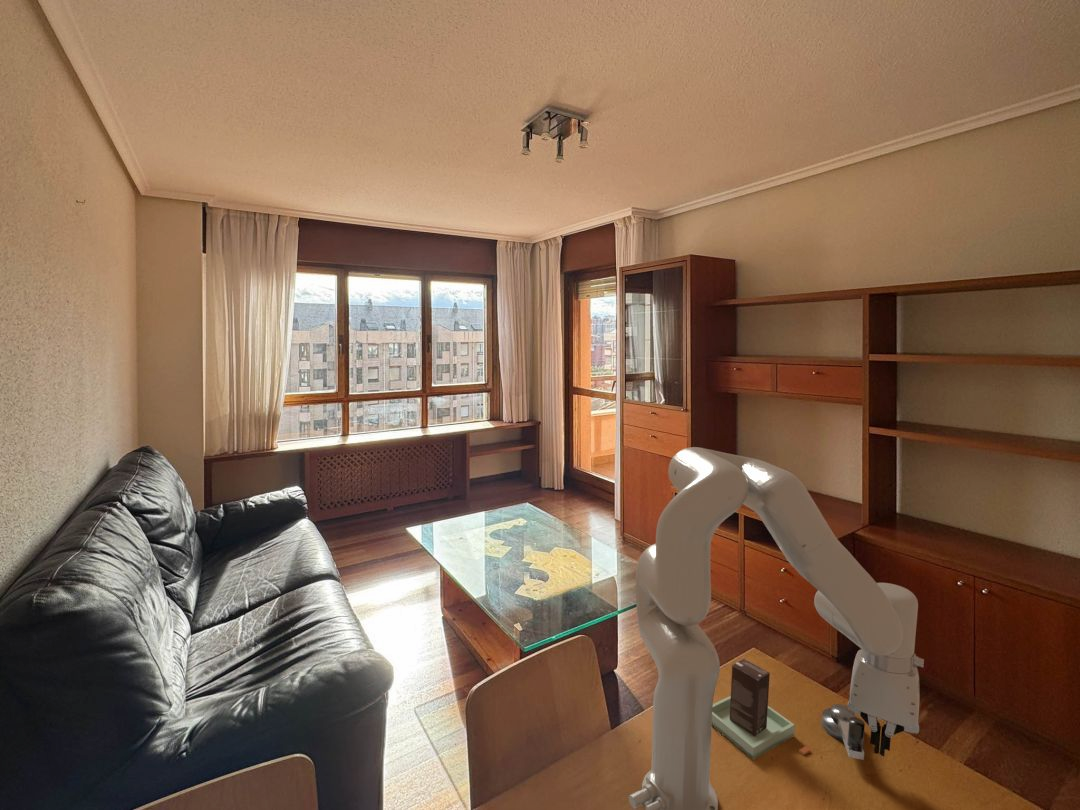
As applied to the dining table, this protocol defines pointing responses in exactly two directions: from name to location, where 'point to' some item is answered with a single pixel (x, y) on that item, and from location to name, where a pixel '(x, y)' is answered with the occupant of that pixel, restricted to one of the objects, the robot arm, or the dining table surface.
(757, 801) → the dining table surface
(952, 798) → the dining table surface
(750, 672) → the box
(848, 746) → the crank
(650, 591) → the robot arm
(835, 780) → the dining table surface
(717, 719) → the tray
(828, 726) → the crank base
